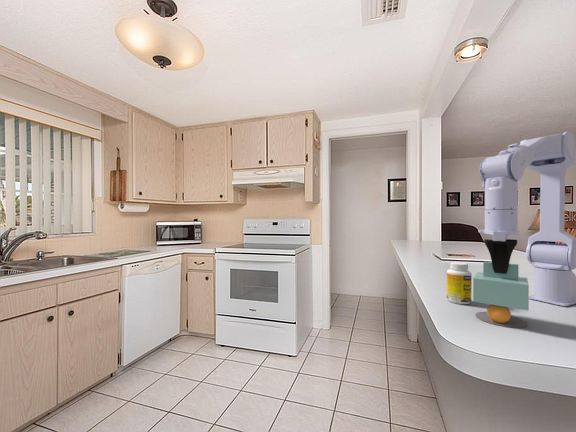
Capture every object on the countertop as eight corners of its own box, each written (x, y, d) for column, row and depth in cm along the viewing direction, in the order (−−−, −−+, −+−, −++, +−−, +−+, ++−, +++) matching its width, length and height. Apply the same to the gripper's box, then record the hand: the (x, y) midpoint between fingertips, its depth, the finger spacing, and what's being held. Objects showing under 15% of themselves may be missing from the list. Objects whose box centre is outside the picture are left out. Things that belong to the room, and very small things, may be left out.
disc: (490, 310, 66) (490, 309, 66) (536, 323, 58) (536, 322, 58) (466, 315, 62) (466, 315, 62) (513, 330, 54) (513, 329, 54)
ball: (491, 326, 57) (493, 322, 60) (514, 323, 55) (515, 319, 58) (482, 307, 59) (484, 304, 62) (504, 303, 56) (505, 300, 59)
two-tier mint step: (477, 292, 66) (477, 258, 66) (527, 300, 61) (527, 262, 61) (473, 301, 59) (473, 263, 59) (528, 310, 54) (528, 268, 54)
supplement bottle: (465, 306, 69) (465, 265, 69) (442, 300, 74) (442, 262, 74) (475, 302, 72) (475, 263, 72) (453, 297, 77) (453, 260, 77)
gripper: (481, 211, 68) (481, 265, 68) (474, 209, 57) (474, 275, 57) (518, 210, 64) (518, 269, 64) (519, 209, 53) (519, 280, 53)
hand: (500, 272), depth 60 cm, fingers closed on two-tier mint step
